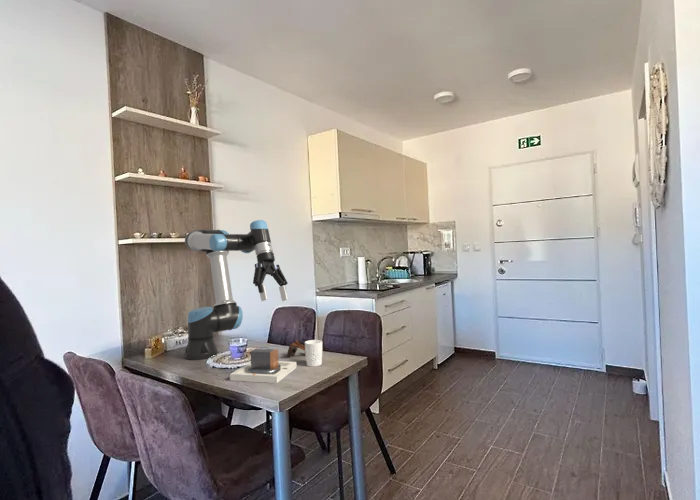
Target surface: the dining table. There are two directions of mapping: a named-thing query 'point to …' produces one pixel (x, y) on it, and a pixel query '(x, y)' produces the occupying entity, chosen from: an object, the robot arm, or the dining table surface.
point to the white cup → (313, 352)
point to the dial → (264, 361)
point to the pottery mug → (295, 348)
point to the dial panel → (275, 378)
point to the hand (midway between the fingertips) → (275, 300)
